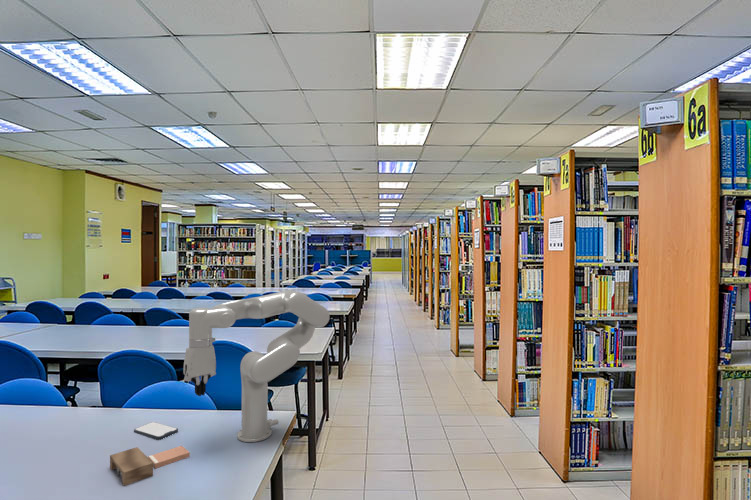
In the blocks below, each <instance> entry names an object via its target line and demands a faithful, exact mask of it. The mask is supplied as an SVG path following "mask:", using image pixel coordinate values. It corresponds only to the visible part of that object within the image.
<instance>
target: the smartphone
mask: <svg viewBox="0 0 751 500" xmlns="http://www.w3.org/2000/svg"><path fill="white" fill-rule="evenodd" d="M178 432H179V429H178V428H176V427H173V426H170V425H166V424H162V423H159V422H154V421H152V422H149V423H147V424H144V425H141V426H138V427H136V428H134V429H133V433H134V434H138V435H141V436H144V437H147V438H150V439H153V440H155V439H156V441H160V440H161V439H162V440H163V438H164V439H166V438H168V436H169V437H171V436H173V435H176V434H178ZM175 433H176V434H175ZM172 434H173V435H172ZM170 435H171V436H170ZM165 437H166V438H165Z"/></svg>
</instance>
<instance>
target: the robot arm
mask: <svg viewBox="0 0 751 500" xmlns="http://www.w3.org/2000/svg"><path fill="white" fill-rule="evenodd" d="M287 313H292V314H293V315H294V316H295V315H296V316H297V317H298V319H297V322H296V324H295V325H294V326H293V327H292V328H291V329H289V330H288V331H286V332H284V333H283V334H281V335H279V336H278V337H276V338H275V339H273V340H271V341H270V342H269V343H268V345H267V347H266V354H264V353H262V352H259V351H258V350H257V351H249V352H247V353H246V354H245V355H244V356H242V359H241V361H240V366H239V367H240V368H239V369H240V378H241V429H240V430H239V431H237V434H236V438H237V439H238V440H239V441H240V442H243V443H255V442H256V443H257V442H261V441H264V440H266V439H268V438H269V437H271V435H272V429H271V428H272V427H273V426H276V425H278V424H279V419H277V418H276V419H273V420H272V418H270V419H268V395H269V394H268V393H269V392H268V391H269V389H268V387H269V386H268V383H270V382H271V381H272V380H274V379H275V378H277V377H279V375H281V374H283V373H284V372H286V371H287V370H290V368H292V367H293V366H294V365H295V364H296V363H297V362H298V360H299V358H300V353H301V351H300V349H301V348H302V347H305V345H307V344H308V343H309V342H310V341H311V339H312V338H313V335H314V333H315V330H316V328H319V329H320V328H323V327H325V326H326V325H327V324H328V323H329V322H330V312H329V310H328V309H327V308H326V307H325V306H323V305H321V304H320V303H319V302H317V301H315V300H313V299H311V297H309V296H307V295H306V294H304V293H303V292H300V291H296V290H293V289H289V290H288V289H287V290H283V291H282V290H281V291H280V292H273V293H269V294H265V295H260V296H255V297H254V296H253V297H248V298H244V299H237V300H232V301H228V302H223V303H219V304H216V305H214V306H213V307H212V308H207V307H196V308H193V309H191V310H190V311H189V314H188V317H189V318H188V322H189V323H188V326H189V327H188V329H189V330H188V347H186V349H185V353H184V359H183V361H184V362H183V375H184V378H183V381H185V382H192V383H193V384H194V393H195V395H196V396H198V397H201V396H205V395H206V393H205V392H207V389H206V387H207V386H206V385H207V383H208V381H209V379H210V378H211V377H212V378H213V376H216V375H217V372H216V369H217V360H216V353H215V352H216V351H215V347H214V345H213V343H214V342H216V338H215V337H213V329H228V328H230V327H232V326H233V325H234V324H235V323H236V321H237V320H242V319H253V320H255V319H256V320H259V319H266V318H270V317H273V316H276V315H281V314H287Z"/></svg>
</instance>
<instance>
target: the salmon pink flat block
mask: <svg viewBox="0 0 751 500" xmlns="http://www.w3.org/2000/svg"><path fill="white" fill-rule="evenodd" d="M190 456H191V455H190V451H189V450H187V448H185V446H183V445H179V446H176V447H174V448H169V449H166V450H163V451H161V452H157V453H154V454H151V455H148V456H147V457H148V458H149V459H150V460H151V461H152V462H153V469H158V468H161V467H164V466H167V465H169V464H172V463H175V462H178V461H181V460H184V459H187V458H190Z"/></svg>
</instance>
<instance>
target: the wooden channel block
mask: <svg viewBox="0 0 751 500" xmlns="http://www.w3.org/2000/svg"><path fill="white" fill-rule="evenodd" d="M109 469H110V470H111V471H113V470H116V471H115V472H116V473H117V474H118V475H120V478H121V484H122V485H123V486H124V487H125V486H128V485H130V484H134V483H136V482H140V481H141V480H145V479H148V478H150V477H153V476H154V467H153V462H152V461H151V460H150V459H149V458H148V456H147V454H145V453H144V452H143V451H142V450H141V449H140V448H139V447H133V448H130V449H126V450H123V451H119V452H117V453H114V454H110V455H109Z"/></svg>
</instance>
